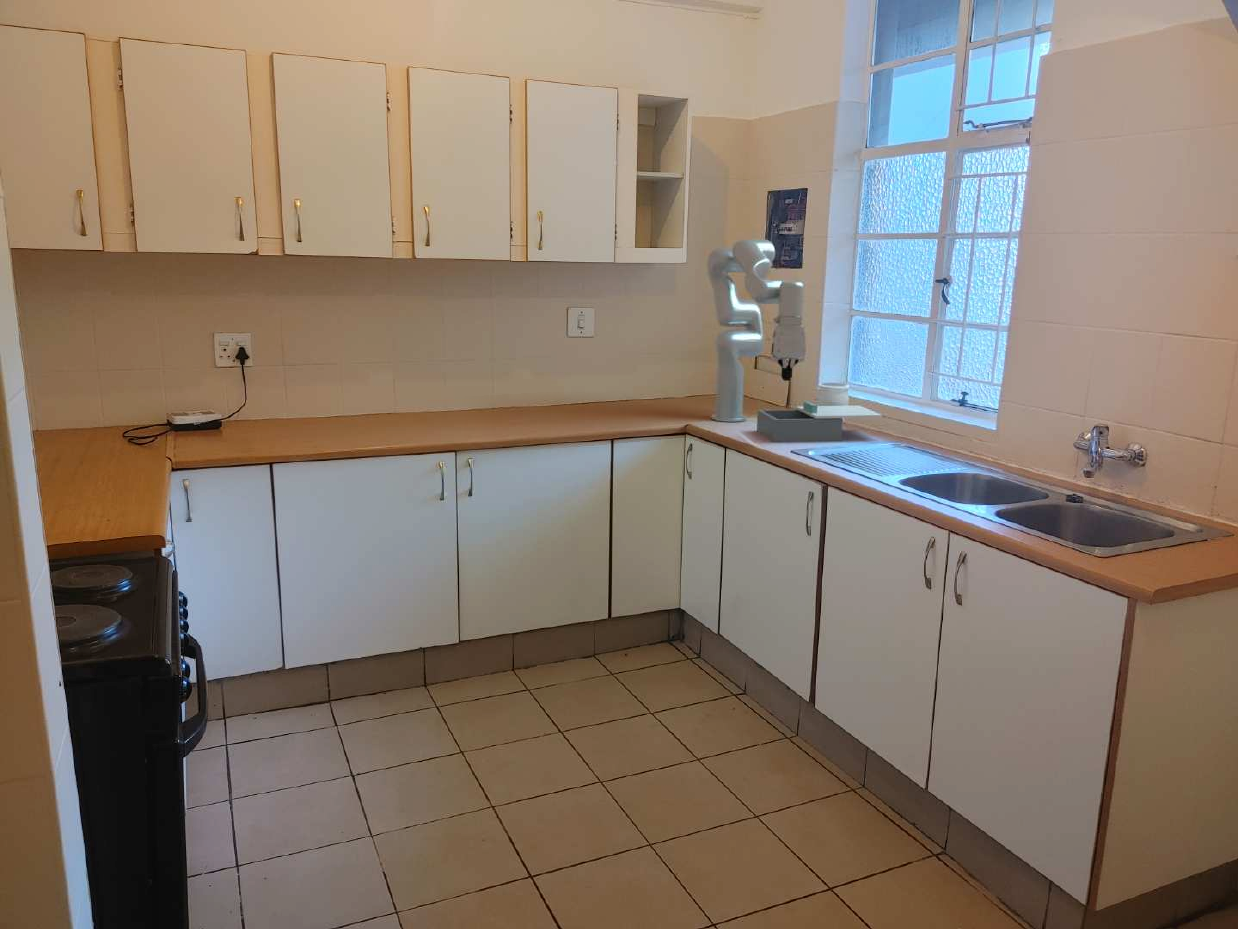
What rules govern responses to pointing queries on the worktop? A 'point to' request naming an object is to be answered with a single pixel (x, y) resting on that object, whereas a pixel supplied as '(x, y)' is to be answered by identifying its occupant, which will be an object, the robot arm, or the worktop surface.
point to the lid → (837, 411)
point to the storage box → (797, 426)
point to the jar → (833, 395)
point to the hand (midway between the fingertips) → (786, 380)
